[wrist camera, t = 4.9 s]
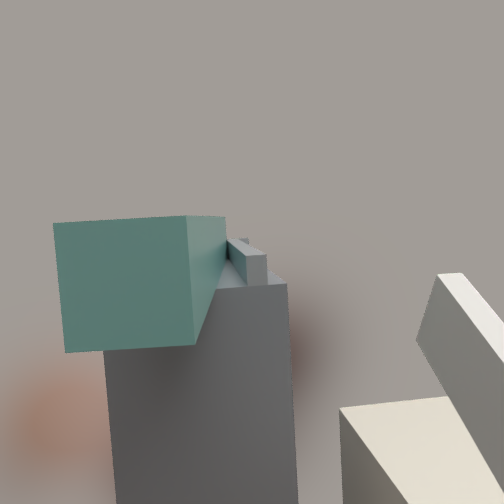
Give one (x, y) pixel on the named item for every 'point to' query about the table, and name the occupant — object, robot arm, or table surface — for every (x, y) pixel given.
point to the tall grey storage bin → (211, 401)
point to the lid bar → (137, 280)
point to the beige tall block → (412, 456)
